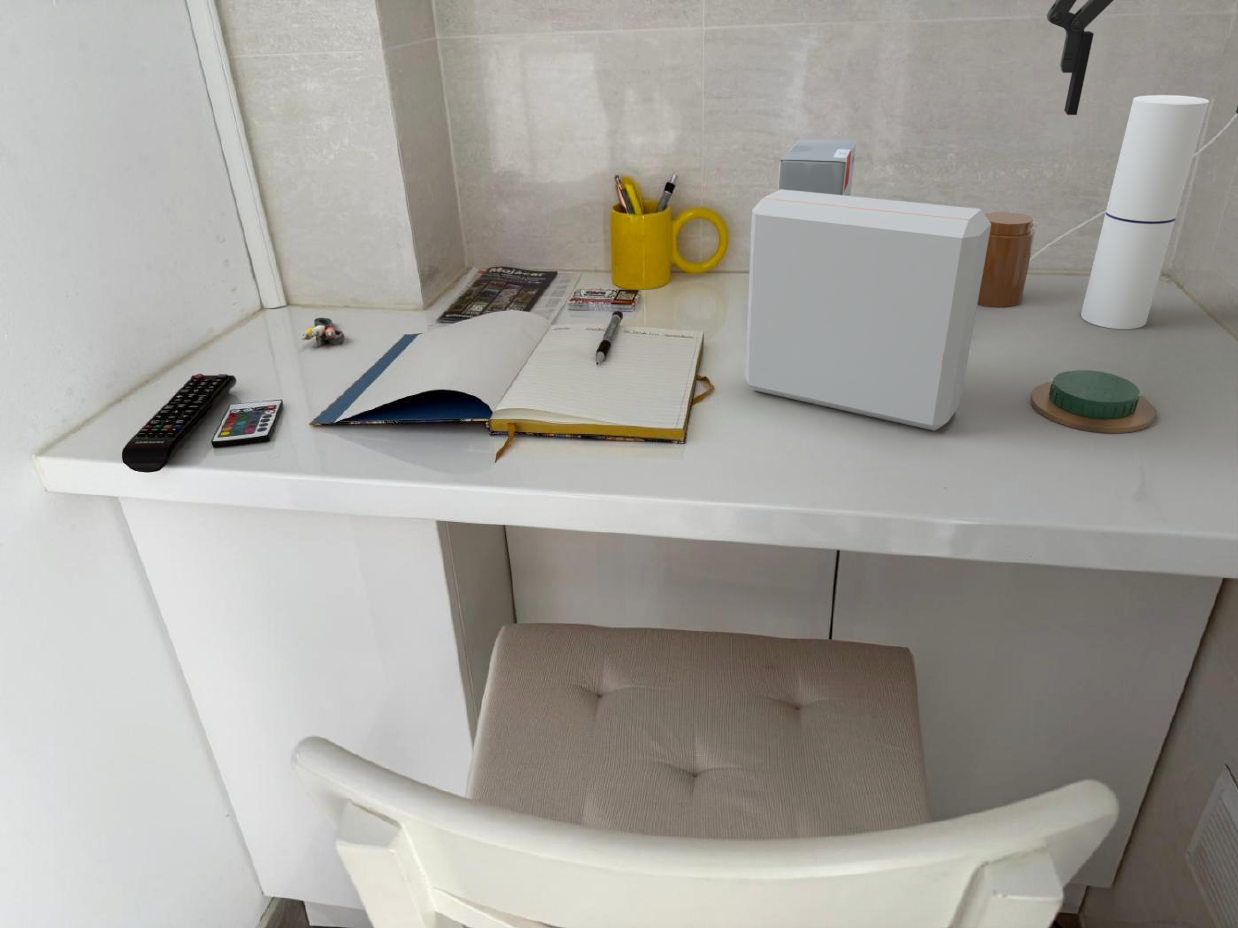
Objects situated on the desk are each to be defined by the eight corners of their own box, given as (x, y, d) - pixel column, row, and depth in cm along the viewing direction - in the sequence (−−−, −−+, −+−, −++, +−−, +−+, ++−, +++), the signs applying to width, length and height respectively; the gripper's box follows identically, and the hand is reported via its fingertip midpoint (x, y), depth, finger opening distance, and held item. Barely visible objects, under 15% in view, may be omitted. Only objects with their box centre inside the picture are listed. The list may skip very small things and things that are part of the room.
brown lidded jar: (1019, 291, 117) (1035, 212, 112) (1023, 309, 111) (1039, 226, 106) (964, 288, 119) (977, 210, 114) (964, 305, 113) (978, 223, 108)
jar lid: (1052, 414, 84) (1056, 397, 83) (1045, 382, 91) (1049, 366, 90) (1142, 423, 82) (1147, 406, 81) (1128, 390, 88) (1133, 373, 87)
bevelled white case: (964, 406, 88) (1000, 204, 78) (941, 439, 82) (977, 225, 72) (771, 366, 98) (781, 183, 88) (738, 393, 92) (746, 200, 82)
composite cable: (314, 324, 115) (310, 306, 114) (351, 321, 116) (348, 303, 115) (303, 352, 107) (299, 333, 106) (343, 348, 107) (339, 329, 106)
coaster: (1143, 390, 90) (1144, 385, 89) (1164, 439, 80) (1166, 433, 80) (1026, 380, 93) (1027, 374, 92) (1034, 425, 84) (1035, 420, 83)
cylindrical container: (1077, 323, 106) (1131, 103, 94) (1083, 305, 112) (1135, 94, 99) (1144, 333, 103) (1209, 106, 91) (1147, 313, 108) (1209, 96, 96)
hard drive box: (830, 330, 107) (845, 161, 97) (767, 325, 109) (776, 159, 99) (842, 291, 120) (857, 137, 110) (786, 287, 122) (795, 136, 112)
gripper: (1055, -177, 67) (1004, 118, 77) (1455, -209, 60) (1339, 122, 70) (1046, -166, 73) (1000, 106, 83) (1408, -193, 66) (1308, 109, 76)
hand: (1155, 114), depth 77 cm, fingers open, 13 cm apart
